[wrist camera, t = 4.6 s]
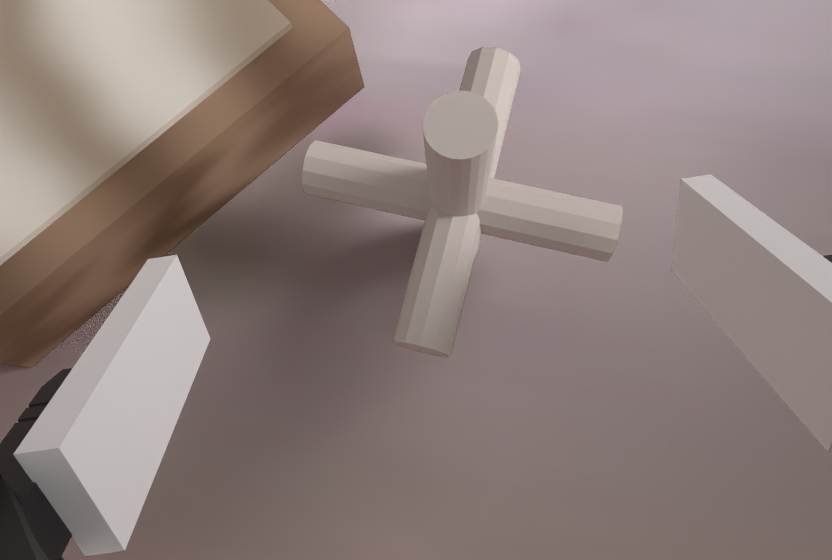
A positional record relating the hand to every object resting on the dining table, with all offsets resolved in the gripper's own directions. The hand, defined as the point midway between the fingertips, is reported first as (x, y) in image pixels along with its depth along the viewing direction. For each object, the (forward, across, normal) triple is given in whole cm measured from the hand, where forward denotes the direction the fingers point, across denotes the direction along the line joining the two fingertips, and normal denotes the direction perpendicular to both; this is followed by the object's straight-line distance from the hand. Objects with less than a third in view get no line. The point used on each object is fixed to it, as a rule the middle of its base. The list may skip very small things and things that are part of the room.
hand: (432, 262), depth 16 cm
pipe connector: (+8, +1, -4) cm, 9 cm away
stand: (+15, -14, +4) cm, 21 cm away
